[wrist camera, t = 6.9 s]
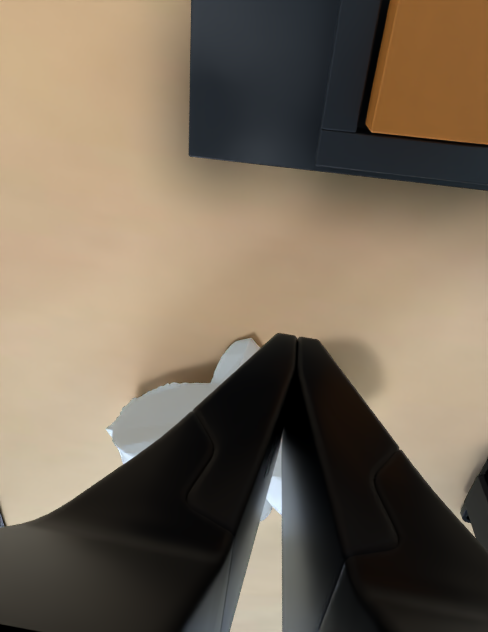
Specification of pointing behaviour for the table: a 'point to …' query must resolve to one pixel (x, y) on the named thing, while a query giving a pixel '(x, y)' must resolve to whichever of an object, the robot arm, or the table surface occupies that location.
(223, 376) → the white lumpy shape
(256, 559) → the table surface
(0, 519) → the black-topped pedestal
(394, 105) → the key
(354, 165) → the dark grey socket base
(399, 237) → the table surface
